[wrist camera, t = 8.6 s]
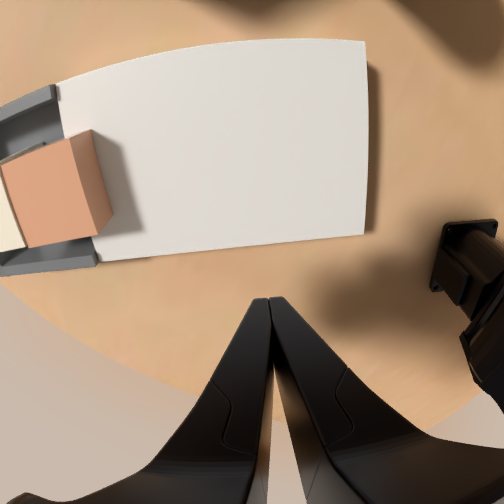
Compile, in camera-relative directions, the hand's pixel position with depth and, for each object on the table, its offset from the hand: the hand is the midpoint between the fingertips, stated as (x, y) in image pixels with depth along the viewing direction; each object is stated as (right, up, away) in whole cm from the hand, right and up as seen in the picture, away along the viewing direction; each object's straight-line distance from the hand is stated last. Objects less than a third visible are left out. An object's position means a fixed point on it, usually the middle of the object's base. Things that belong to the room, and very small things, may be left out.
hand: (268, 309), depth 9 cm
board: (-3, +8, +9) cm, 12 cm away
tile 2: (-11, +5, +6) cm, 14 cm away
